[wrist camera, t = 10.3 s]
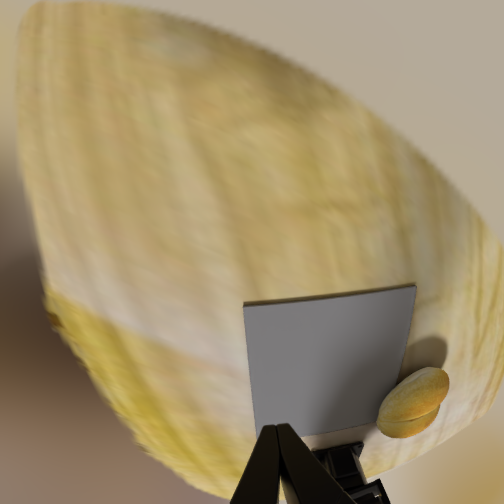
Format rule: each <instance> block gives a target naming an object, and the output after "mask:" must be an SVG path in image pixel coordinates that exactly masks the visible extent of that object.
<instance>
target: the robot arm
mask: <svg viewBox="0 0 504 504" xmlns="http://www.w3.org/2000/svg"><path fill="white" fill-rule="evenodd" d="M363 447H364V443H363V442H358V443H354V444H350V445H345V446H341V447H336V448H331V449H326V450H321V451H315V452H311V451H310V449H309V448H308V447H307V446H306V444H305V443H304V442H303V441H302V439H301V438H300V437H299V436H298V434H297V433H296V432H295V430H294V429H293V428H292V427H291V425H290V424H289V423H280V424H277V425H274V424H270V425H264V426H263V427H262V429H261V432H260V434H259V437H258V439H257V442H256V444H255V446H254V449H253V451H252V454H251V456H250V458H249V461H248V463H247V465H246V468H245V470H244V472H243V475H242V477H241V479H240V481H239V484H238V486H237V488H236V490H235V492H234V494H233V497H232V499H231V501H230V504H279V492H280V478H281V483H282V487H283V491H284V494H285V498H286V501H287V504H391V503H390V501H389V498H388V496H387V494H386V492H385V489H384V487H383V485H382V483H381V480H380V479H377V480H375V481H373V482H371V483H367V480H366V477H365V475H364V472H363V469H362V467H361V464H360V461H359V457H360V455H361V452H362V449H363ZM377 495H379V496H377ZM375 496H377V497H375Z"/></svg>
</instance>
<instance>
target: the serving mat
mask: <svg viewBox="0 0 504 504" xmlns="http://www.w3.org/2000/svg"><path fill="white" fill-rule="evenodd" d="M416 289H417V286H409V287H403V288H397V289H390V290H383V291H377V292H370V293H362V294H355V295H347V296H339V297H331V298H322V299H313V300H304V301H294V302H284V303H273V304H261V305H249V306H243V312H244V322H245V332H246V342H247V352H248V362H249V372H250V381H251V391H252V400H253V409H254V418H255V427H256V436H257V439H258V437H259V434H260V432H261V429H262V427H263V426H264V425H270V424H274V425H277V424H280V423H289V424H290V425H291V427H292V428H293V429H294V430H295V432H296V433H297V434H298V436H299V437H303V436H310V435H316V434H322V433H327V432H332V431H337V430H342V429H347V428H351V427H355V426H359V425H363V424H367V423H371V422H375V421H377V418H378V415H379V409H380V406H381V404H382V402H383V400H384V399H385V398H386V396H387V395H388V394H389V393H390V392H391V391H392V390H393V389H394V388H395V385H396V382H397V379H398V375H399V371H400V368H401V364H402V360H403V356H404V352H405V348H406V344H407V339H408V334H409V330H410V325H411V319H412V314H413V308H414V302H415V296H416Z"/></svg>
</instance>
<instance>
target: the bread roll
mask: <svg viewBox="0 0 504 504" xmlns="http://www.w3.org/2000/svg"><path fill="white" fill-rule="evenodd" d="M448 390H449V377H448V375H447V373H446V372H445V371H444V370H442V369H440V368H435V367H425V368H423V369H420V370H418V371H416V372H414V373H413V374H411V375H410V376H408V377H407V378H405V379H404V380H403V381H402V382H401V383H400V384H398V385H397V386H396V387H395V388H394V389H393V390H392V391H391V392H390V393H389V394H388V395H387V396H386V398H385V399H384V400H383V402H382V404H381V406H380V409H379V415H378V418H377V426H378V429H379V430H380V431H381V433H383V434H384V435H386V436H388V437H391V438H407V437H410V436H413V435H415V434H417V433H419V432H421V431H423V430H424V429H426V428H427V427H428V426H429V425H430V424H431V423H432V422H433V421H434V419H435V418H436V416H437V414H438V411H439V408H440V403H441V402H442V401H443V400H444V398H445V397H446V395H447V393H448Z"/></svg>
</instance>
